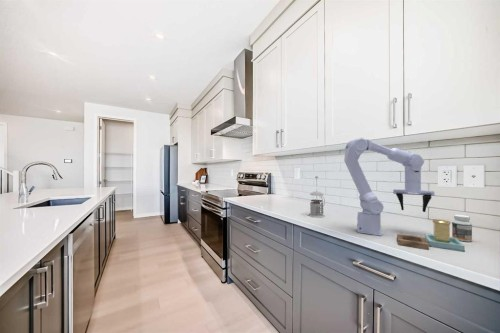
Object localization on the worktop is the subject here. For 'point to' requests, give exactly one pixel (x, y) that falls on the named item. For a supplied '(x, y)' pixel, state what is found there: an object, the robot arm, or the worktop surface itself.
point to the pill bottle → (462, 228)
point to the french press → (316, 205)
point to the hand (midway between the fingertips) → (413, 210)
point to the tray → (453, 244)
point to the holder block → (412, 241)
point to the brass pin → (441, 230)
